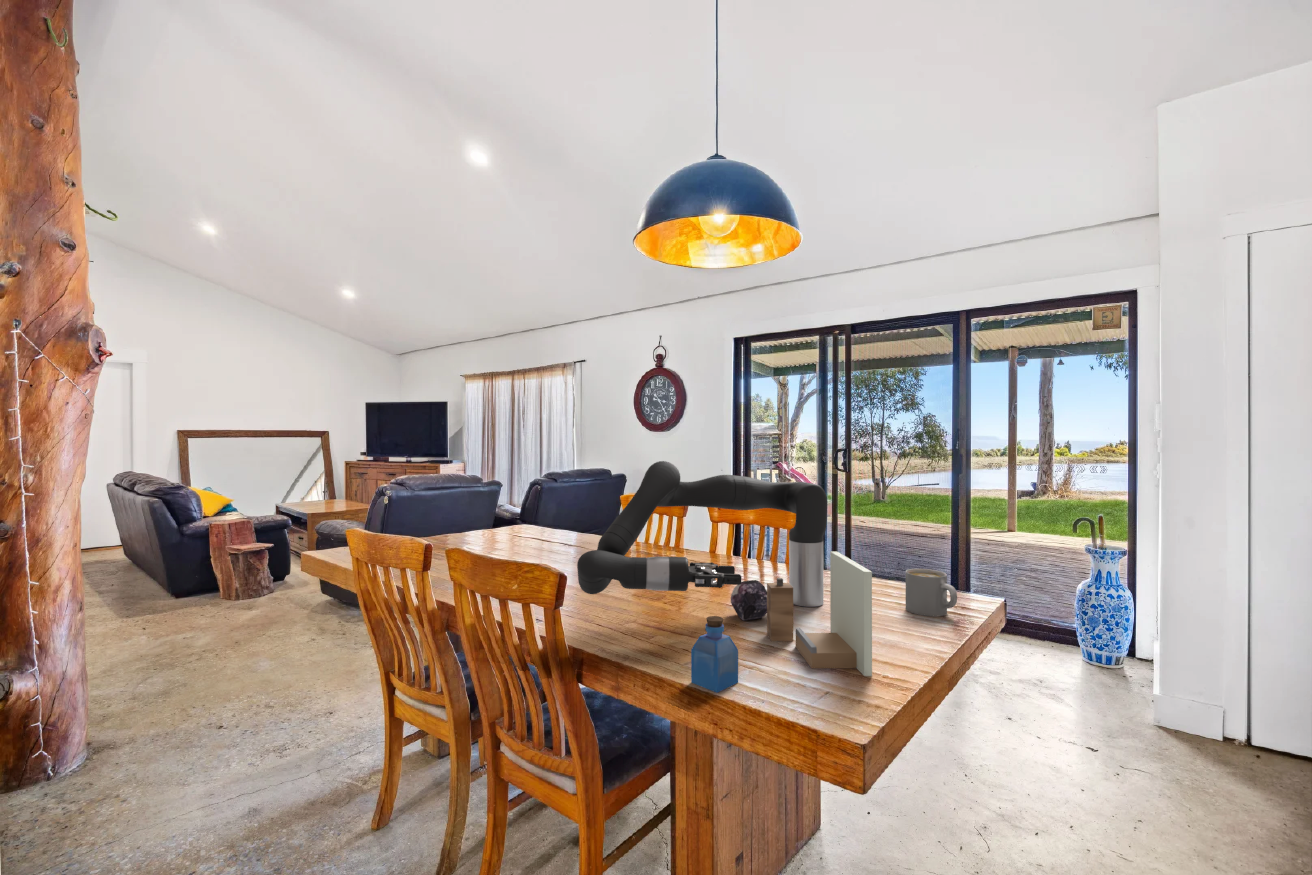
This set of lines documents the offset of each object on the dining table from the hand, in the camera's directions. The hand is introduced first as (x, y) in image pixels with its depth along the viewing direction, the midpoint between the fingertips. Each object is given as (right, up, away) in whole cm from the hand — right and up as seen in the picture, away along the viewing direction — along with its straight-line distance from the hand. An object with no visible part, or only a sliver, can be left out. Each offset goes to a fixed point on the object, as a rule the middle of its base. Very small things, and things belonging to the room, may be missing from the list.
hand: (737, 574), depth 133 cm
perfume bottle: (-8, -15, -23) cm, 29 cm away
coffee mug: (+53, -15, +20) cm, 59 cm away
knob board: (+10, -15, +1) cm, 18 cm away
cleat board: (+17, -15, -11) cm, 25 cm away
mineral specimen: (+5, -15, +16) cm, 22 cm away
